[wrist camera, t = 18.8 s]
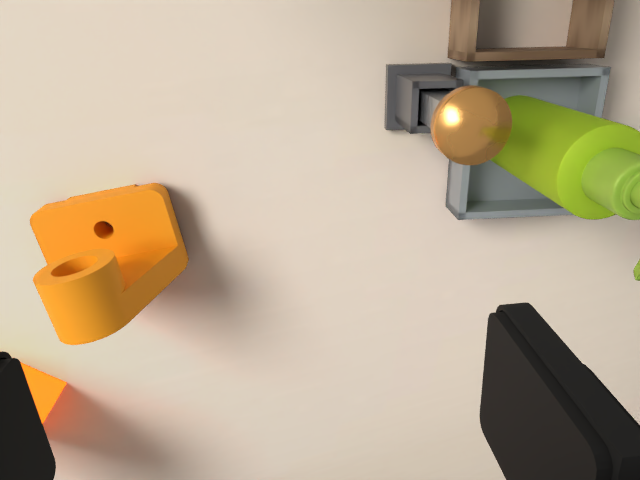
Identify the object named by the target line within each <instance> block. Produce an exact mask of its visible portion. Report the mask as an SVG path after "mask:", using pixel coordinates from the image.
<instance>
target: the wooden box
mask: <svg viewBox="0 0 640 480" xmlns="http://www.w3.org/2000/svg"><path fill="white" fill-rule="evenodd" d="M479 5H480V0H452V2H451V16H450V31H449V45H448V58H452V59H456V60H461V61H466V62H470V61H507V60H545V59H582V58H604V56H605V51H606V45H607V39H608V34H609V28H610V22H611V17H612V11H613V6H614V0H573V5H572V12H571V18H570V25H569V31H568V38H567V45H566V47H531V48H492V49H476V39H477V28H478V16H479Z"/></svg>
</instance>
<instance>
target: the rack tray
mask: <svg viewBox="0 0 640 480" xmlns="http://www.w3.org/2000/svg"><path fill="white" fill-rule="evenodd" d="M610 69H611V67H606V66H598V65H591V64H559V65H522V66H486V67H456V76H455V77H456V78H459V79H462V80H463V86H469V85H474V86H480V87H484V88H487V89H490V90H493V91H495V92H496V93H498V94H499V95H501V96H502V97H503V98H504V99H506V98H508V97H511V96H517V95H523V96H529V97H532V98H536V99H539V100H542V101H546V102H549V103H552V104H556V105H559V106H563V107H566V108H569V109H573V110H576V111H579V112H583V113H586V114H589V115H593V116H596V117H599V118H602V112H603V107H604V101H605V96H606V90H607V85H608V80H609V74H610ZM446 207H447V208H448V209H449V210H450V211H451V213H452V214H453V215H454V216H455V217H456V218H457V219H458V220H464V219H486V218H509V217H531V216H553V215H574V214H572V213H571V212H569V211H567V210H566V209H564V208H563V207H561V206H560V205H558V204H557V203H555V202H554V201H552V200H551V199H549V198H548V197H546V196H545V195H543V194H541V193H540V192H538V191H537V190H535V189H534V188H532V187H531V186H529V185H528V184H526V183H525V182H523V181H522V180H520V179H518V178H517V177H515V176H514V175H512V174H511V173H509V172H508V171H506V170H505V169H503V168H502V167H500V166H499V165H497V164H495V163H494V162H492V161H491V160H488V161H486V162H484V163H482V164H478V165H471V166H470V165H461V164H458V163H455V162H453V161H452V160H450V159H449V168H448V181H447V194H446Z"/></svg>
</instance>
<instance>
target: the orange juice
mask: <svg viewBox="0 0 640 480" xmlns="http://www.w3.org/2000/svg"><path fill="white" fill-rule="evenodd" d="M20 363H21V362H20ZM21 365H22V368H23V371H24V374H25V376H26V379H27V382H28V385H29V388H30V391H31V393H32V396H33V399H34V402H35V405H36V408H37V410H38V413H39V416H40V419H41V422H42V424H43V423H44V421H45V419H46V417H47V416H48V414H49V412H50V411H51V409H52V407H53V406H54V404H55V402H56V400H57V399H58V397H59V395H60V394H61V392H62V390H63V388H64V387H65V385H66V383H67V382H64V381H62V380H60V379H57V378H55V377H53V376H50V375H48V374H46V373H44V372H41V371H39V370H37V369H34V368H32V367H30V366H27V365H25V364H23V363H21Z"/></svg>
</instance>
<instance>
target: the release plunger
mask: <svg viewBox="0 0 640 480" xmlns="http://www.w3.org/2000/svg"><path fill="white" fill-rule="evenodd" d="M418 120H420V121H421V122H422V123H424V124H425V125H427V126H428V127H429V128H431V136H432V139H433V142H434V144H435V146H436V147H437V148H438V150H439V151H440V152H441V153H442V154H444V155H445V156H446V157H447V158H449V159H450V160H452V161H453V162H455V163H458V164H461V165H470V166H471V165H478V164H482V163H484V162H486V161H488V160H490V159H492V158H493V157H495V156H496V155H497V154H498V153H499V152H500V151H501V150H502V149H503V147H504V146H505V144H506V143H507V141H508V139H509V136H510V133H511V129H512V115H511V111H510V108H509V106H508V104H507V102H506V101H505V99H504V98H503V97H502V96H501V95H499V94H498V93H496V92H495V91H493V90H490V89H487V88H484V87H480V86H474V85H469V86H463V87H460V88H457V89H455V90H453V91H451V92H450V91H447V90H445V89H442V88H427V89H419V102H418Z"/></svg>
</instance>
